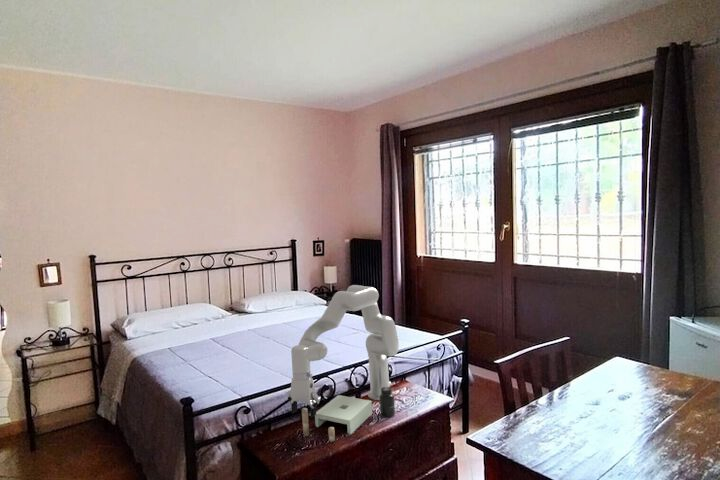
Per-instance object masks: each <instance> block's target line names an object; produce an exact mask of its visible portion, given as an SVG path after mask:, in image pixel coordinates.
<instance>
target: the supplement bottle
mask: <svg viewBox="0 0 720 480" xmlns="http://www.w3.org/2000/svg"><path fill="white" fill-rule="evenodd" d="M392 392H393V390H392V387H383V388H381V393H382V394H381V395H380V397H379V399H380V400H379V412H380V416H382V417H384V418H391V417H394V416H395V415H396V409H395V408H396V407H395V405H396V403H395V395H394V393H393V394H392Z"/></svg>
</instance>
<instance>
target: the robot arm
mask: <svg viewBox="0 0 720 480" xmlns="http://www.w3.org/2000/svg"><path fill="white" fill-rule="evenodd" d="M379 297H380V294H379V291H378V290H377V289H376V288H375V287H373V286H364V285H359V284H352V285H350V286H348V287H347V289H346V291H345V290H339V291H337V292H335V293H334V294H333V296H332V298H331V300H330V301H329V303H328V305H327V307H326V309H325V311H324V313H323V314H322V316H321V317H319V319H317V320H316V321H315V322H313V323H312V324H311V325H310V326H308V328H307V329H306V330H305V332H304V333H303V335H302V337H301V338H300V340H299V342H298V345H294V346H293V347H292V348H291V354H290V355H291V368H292V369H291V370H292V378H291V381H290V383H291V384H290V390H289V391H286V393H285V394H286V397H287V400H288V402H289V404H290V405H291V414H295V413H297V412H298V402H299V403H303V404H308V406H309V407H310V409H309V415H310V418H315V415H316V412H317V406H318V405H319V404H320V401H321V396H319V395H317V394H316V388H315V387H316V386H315V382H314V379H313V373H311V362H315V361H316V362H317V361H320V360H323V359H324V358H325V357H326V356H327V355H328V347H327V346H326V344H324V343H323V342H320V341H317V339H318V338H319V337H320V336H321V335H322V334H324V333H326V332H328V331H331V330H334V329H337V328H338V327H339V326H340V324H341V322H342V320H343V318H344V316H345V314H346V312H347V311H349V312H351V311H352V312H356V311H361V313H362V314H361V315H362V319H363V323H364V328H365V330H366V331H367V332H369V333H370V334H368V336H367V337H366V339H365V348H366V351H367V352H366V353H367V355H368V356H367V357H368V368H369V381H370V384H369V385H370V390H369V391H368V392H367V396H368V398H369V399H371V400H374V401H380V399H379V397H380V395H381V394H382V393H381V388H383V387H390V386H391V385H392V382H391V380H390V376H389V361H388V357H393V356H396V355H397V353H398V351H399V350H400V349H399V346H400V345H399V338H398V332H397V328H396V327H397V326H396V323H395V320H393V318H392V317H391V316H388V315H385V314H384V315H383V314H381V312H380V309H379V306H378V300H379ZM390 388H391V387H390ZM392 394H393V395H394V392H393V391H392Z"/></svg>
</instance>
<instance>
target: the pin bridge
mask: <svg viewBox="0 0 720 480" xmlns="http://www.w3.org/2000/svg"><path fill="white" fill-rule="evenodd" d="M372 403H373V402H372V400H369V399H363V398H356V397H352V396H351V397H350V396H346V395H341V394H338V395H336V396H335V397H334V398H332V399H331V400H330V401H329V402H327V403H326V404H325V405H324V406H322V407H321V408H320V409H318V410H316V415H315V416H314V422H315V423H314V424H315V427H316V428H319V427H321V425H323V424H324V423H325V422H327V421H329V422H333V423H339V424H343V425H347V426H346V427H347V434H348V435H352V434H353V433H354V432H355V431H356V430H357V429H358V428H359V427H360V426H361V425H362V424H363V423H364V422H365V421H366V420H367V419H368V418H369V417H370V416H371V415H372V414H373V405H372Z"/></svg>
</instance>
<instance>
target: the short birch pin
mask: <svg viewBox="0 0 720 480" xmlns="http://www.w3.org/2000/svg"><path fill="white" fill-rule="evenodd" d="M327 428H328V429H327V430H328V431H327V432H328V433H327V434H328V441H329V442H330V443H331V442H332V443H333V442H335V440H336V435H335V433H336V432H335V427H334V426H330V427H327Z"/></svg>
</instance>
